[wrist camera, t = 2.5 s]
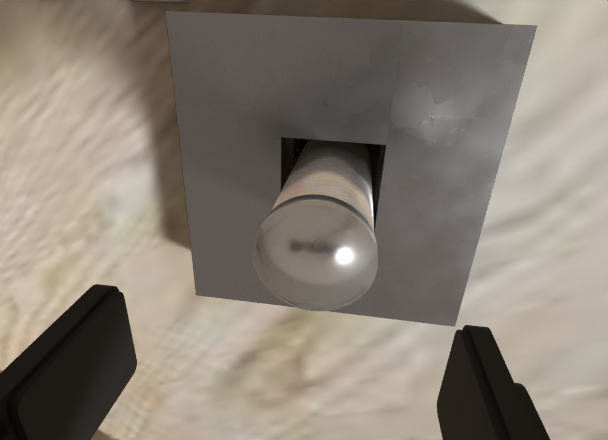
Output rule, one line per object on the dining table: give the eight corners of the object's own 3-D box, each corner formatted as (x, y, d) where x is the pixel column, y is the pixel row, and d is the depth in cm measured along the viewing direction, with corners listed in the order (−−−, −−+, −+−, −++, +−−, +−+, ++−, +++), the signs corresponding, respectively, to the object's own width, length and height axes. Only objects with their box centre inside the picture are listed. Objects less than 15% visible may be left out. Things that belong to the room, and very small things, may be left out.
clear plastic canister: (299, 125, 23) (250, 197, 13) (377, 130, 23) (385, 210, 13) (296, 196, 25) (253, 303, 16) (368, 202, 25) (370, 317, 15)
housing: (198, 13, 21) (165, 10, 18) (506, 25, 20) (537, 25, 16) (217, 261, 28) (196, 295, 25) (443, 286, 27) (454, 326, 23)
